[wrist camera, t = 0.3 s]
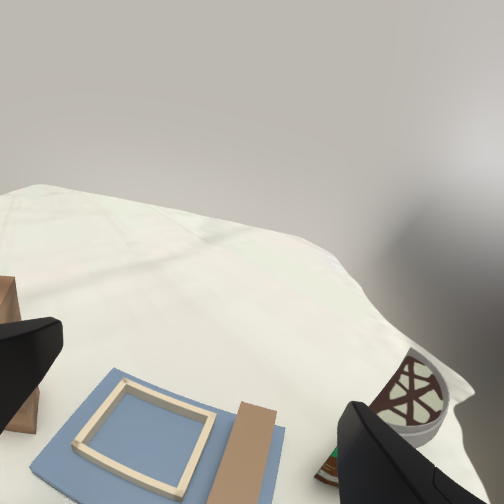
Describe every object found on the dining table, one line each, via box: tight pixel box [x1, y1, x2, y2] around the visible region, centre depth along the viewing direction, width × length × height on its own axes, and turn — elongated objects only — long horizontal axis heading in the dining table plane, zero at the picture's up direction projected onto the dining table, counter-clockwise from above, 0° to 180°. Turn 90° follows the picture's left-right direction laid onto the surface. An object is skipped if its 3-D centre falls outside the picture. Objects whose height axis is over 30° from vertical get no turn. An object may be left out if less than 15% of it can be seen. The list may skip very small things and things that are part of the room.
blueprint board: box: [29, 368, 285, 504], centre depth 19 cm, size 14×17×4 cm
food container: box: [314, 347, 450, 487], centre depth 21 cm, size 12×6×10 cm, turn 136°
